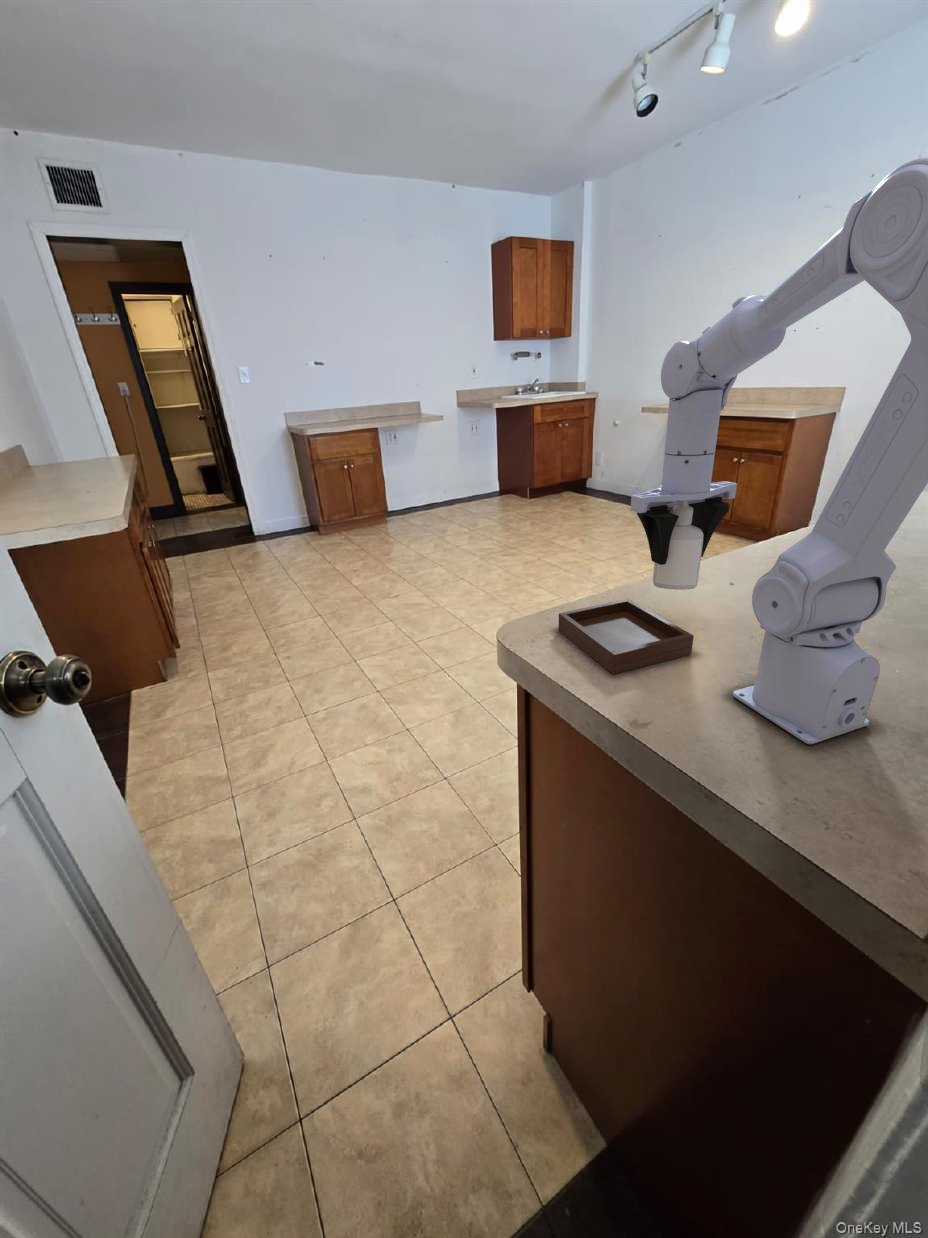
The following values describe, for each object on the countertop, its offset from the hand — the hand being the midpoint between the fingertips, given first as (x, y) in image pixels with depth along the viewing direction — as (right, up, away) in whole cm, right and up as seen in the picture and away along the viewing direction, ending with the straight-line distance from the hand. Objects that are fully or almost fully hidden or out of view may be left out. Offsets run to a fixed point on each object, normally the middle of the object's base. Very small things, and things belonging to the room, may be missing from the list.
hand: (677, 558), depth 68 cm
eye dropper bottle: (0, -4, +2) cm, 4 cm away
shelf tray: (-7, -11, +1) cm, 13 cm away
